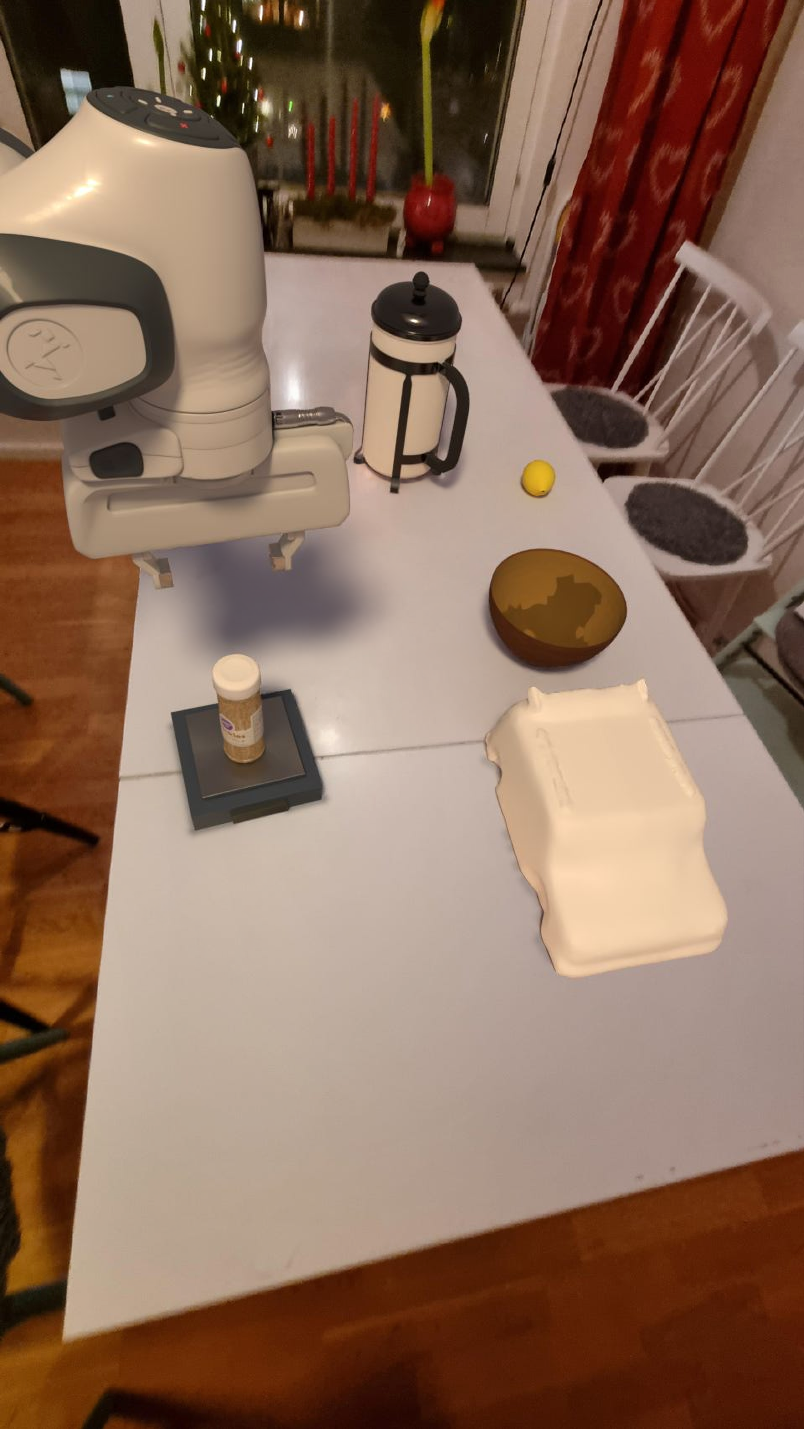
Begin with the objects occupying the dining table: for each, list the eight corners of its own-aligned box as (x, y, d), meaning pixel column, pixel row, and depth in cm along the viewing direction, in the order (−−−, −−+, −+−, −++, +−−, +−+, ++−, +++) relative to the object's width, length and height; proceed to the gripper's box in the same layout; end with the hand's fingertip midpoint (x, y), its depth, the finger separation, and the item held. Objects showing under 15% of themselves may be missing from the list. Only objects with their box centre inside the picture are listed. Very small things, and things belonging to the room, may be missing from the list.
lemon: (515, 478, 119) (523, 450, 114) (546, 480, 120) (555, 452, 115) (522, 504, 115) (530, 476, 110) (553, 506, 115) (563, 478, 111)
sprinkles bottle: (216, 755, 76) (201, 678, 65) (237, 724, 78) (226, 645, 68) (253, 771, 75) (245, 695, 64) (273, 739, 78) (269, 662, 67)
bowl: (490, 701, 90) (508, 650, 82) (463, 602, 100) (477, 548, 92) (617, 694, 93) (647, 645, 85) (578, 600, 103) (602, 547, 95)
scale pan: (203, 801, 73) (202, 797, 73) (185, 718, 79) (185, 714, 78) (305, 777, 76) (305, 773, 76) (281, 699, 82) (281, 695, 81)
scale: (196, 836, 74) (192, 823, 72) (174, 727, 82) (170, 712, 79) (323, 805, 78) (323, 791, 76) (291, 703, 86) (290, 688, 83)
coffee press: (343, 489, 112) (354, 288, 88) (362, 434, 121) (377, 239, 97) (449, 510, 112) (489, 315, 87) (459, 454, 121) (499, 264, 97)
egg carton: (615, 723, 90) (657, 655, 79) (720, 954, 73) (793, 909, 62) (474, 738, 86) (499, 669, 75) (552, 987, 69) (598, 944, 58)
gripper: (342, 381, 50) (335, 532, 61) (34, 403, 44) (88, 566, 56) (368, 431, 47) (356, 581, 58) (40, 462, 41) (96, 622, 52)
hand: (223, 574), depth 57 cm, fingers open, 8 cm apart
